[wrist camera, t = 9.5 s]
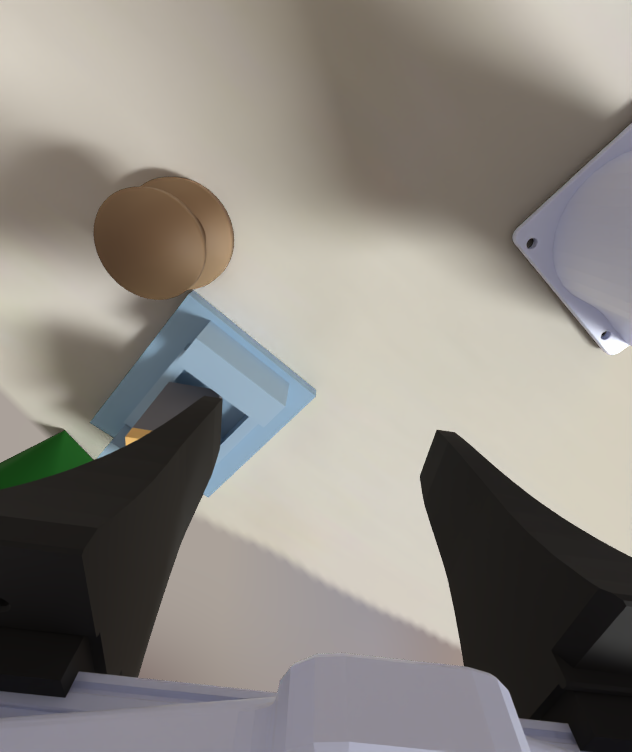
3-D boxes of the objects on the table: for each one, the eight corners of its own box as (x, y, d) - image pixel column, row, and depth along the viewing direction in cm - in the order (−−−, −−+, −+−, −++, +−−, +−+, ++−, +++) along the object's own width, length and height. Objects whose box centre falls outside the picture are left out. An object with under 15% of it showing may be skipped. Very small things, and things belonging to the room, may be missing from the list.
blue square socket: (316, 389, 23) (314, 420, 20) (211, 489, 27) (197, 527, 24) (193, 290, 21) (170, 308, 18) (96, 415, 24) (64, 448, 21)
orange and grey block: (222, 390, 21) (194, 447, 17) (217, 452, 23) (191, 518, 19) (168, 381, 21) (125, 436, 17) (168, 444, 23) (128, 509, 18)
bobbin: (254, 231, 19) (237, 242, 15) (196, 305, 21) (168, 331, 17) (166, 151, 18) (124, 141, 14) (112, 238, 19) (61, 250, 16)
